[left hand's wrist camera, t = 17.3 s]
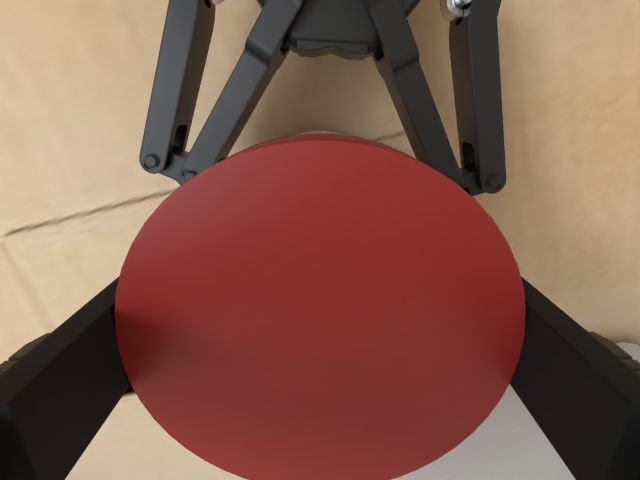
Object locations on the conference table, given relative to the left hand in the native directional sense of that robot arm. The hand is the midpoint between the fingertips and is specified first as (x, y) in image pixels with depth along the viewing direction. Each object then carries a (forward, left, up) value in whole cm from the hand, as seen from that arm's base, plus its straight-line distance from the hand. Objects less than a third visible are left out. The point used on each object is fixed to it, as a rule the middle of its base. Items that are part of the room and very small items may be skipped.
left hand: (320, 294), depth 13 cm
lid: (0, 0, +3) cm, 3 cm away
